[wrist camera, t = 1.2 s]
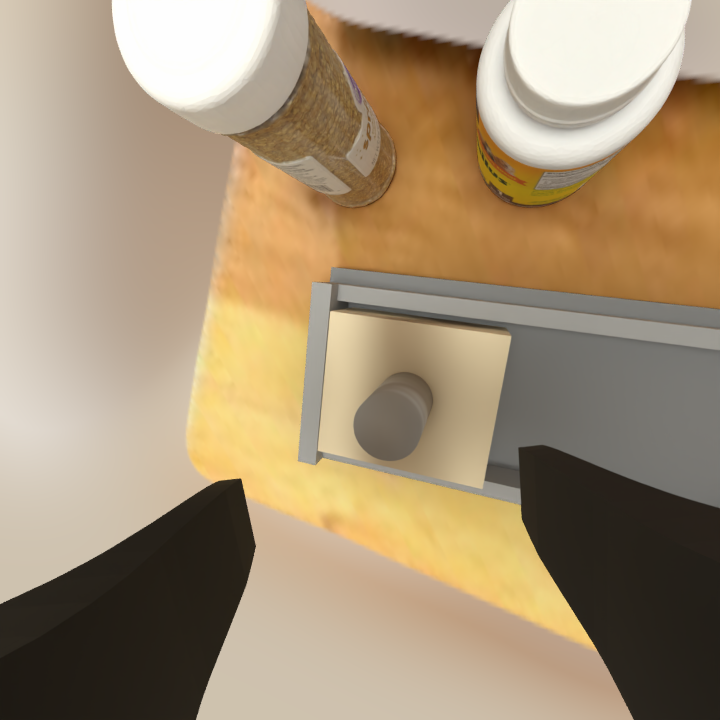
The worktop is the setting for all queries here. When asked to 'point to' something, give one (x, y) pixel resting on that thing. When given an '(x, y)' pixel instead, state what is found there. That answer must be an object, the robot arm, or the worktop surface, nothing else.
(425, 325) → the beige knobbed block
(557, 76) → the supplement bottle
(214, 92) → the brown spice jar
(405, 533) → the worktop surface
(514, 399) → the tray
